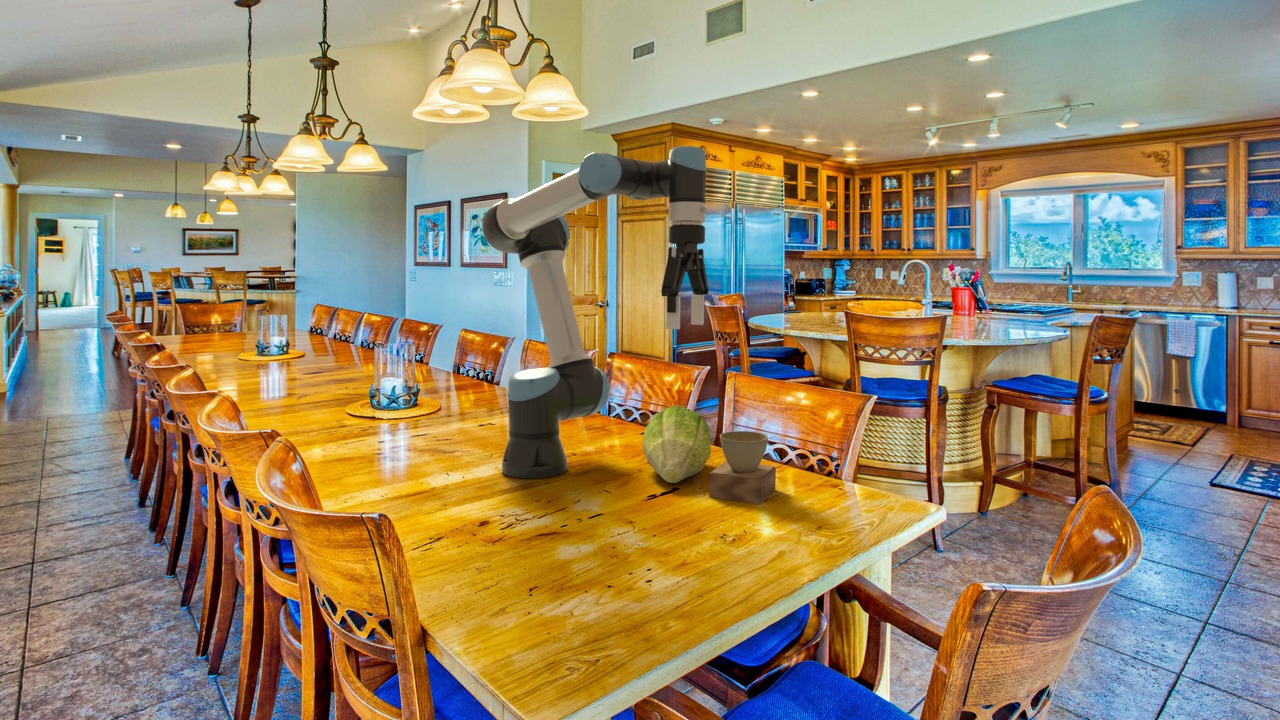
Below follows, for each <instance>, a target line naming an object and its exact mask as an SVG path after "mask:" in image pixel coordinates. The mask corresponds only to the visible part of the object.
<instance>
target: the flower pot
mask: <svg viewBox="0 0 1280 720" xmlns="http://www.w3.org/2000/svg"><path fill="white" fill-rule="evenodd" d="M719 441H720V445H721V448H722V453H723V455H724V457H725V461H727V462H728V464H729V466H730V467H731V469H732V470H734V471H737V472H752V471H755V470H756V469H757V467H758V465H759V464H761V462H762V460H763V458H764V456H765V453H766V450H767V446H768V442H769V435H767V434H766V433H762V432H758V431H751V430H749V431H748V430H747V431H746V430H736V431H735V430H733V431H725V432H722V433H720V434H719Z"/></svg>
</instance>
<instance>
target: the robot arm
mask: <svg viewBox="0 0 1280 720" xmlns="http://www.w3.org/2000/svg"><path fill="white" fill-rule="evenodd" d="M706 156H707V155H706V151H705V150H704V149H703V148H702V147H698V146H689V145H687V146H683V145H682V146H675V147H672V148H671V149H670V150H669V155H668V159H666V160H660V161H645V160H640V159H636V158H635V159H633V158H628V157H624V156H619V155H613V154H610V153H607V152H606V153H605V152H591V153H589V154H587V155H586V156H584V158H583V160H582V161H581V162H580V163H579V167H578V168H577V169H574V170H573V171H571V172H569V173H567V174H565V175H564V174H563V176H561V177H558V178H556V179H554V180H552V181H550V182H548V183H545V184H544V185H542V186H540V187H538V188H536V189H533V190H532V191H530V192H528V193H525V194H524V195H522V196H519V197H517V198H509V197H508V198H505V199H503V200H501V201H499V202H496V203H495V204H494V205H492V206H490V207H489V208H488V210H487V211H486V212H485V214H484V216H483V218H482V224H481V229H482V235H483V236H484V239H485V240H486V242H487V243H488V244H489V245H490V246H491V247H492V248H493V249H495V250H496V251H500V252H502V253H506V254H517V256H518V259H519V262H520V266H521V267H523V268H525V269H526V270H527V271H528V274H529V278H530V281H531V282H530V283H531V286H532V290H533V294H534V299H535V302H536V306H537V310H538V314H539V317H540V321H541V326H542V330H543V334H544V338H545V342H546V347H547V350H548V356H549V358H550V362H549V364H548V366H547V367H538V368H529V369H524V370H520V371H518V372H516V373H513V374H512V375H511V376H510V378H509V379H508V386H507V387H508V388H507V389H508V390H507V398H508V400H507V401H508V441H507V445H506V448H505V451H504V454H503V457H502V461H501V472H502V474H504V475H506V476H508V477H511V478H516V479H531V480H532V479H533V480H534V479H545V478H551V477H552V478H553V477H555V476H559V475H562V474H565V473H566V471H568V458H567V455H566V452H565V450H564V446H563V444H562V440H561V437H560V436H561V435H560V422H562V421H563V422H564V421H568V420H572V419H577V418H585V417H588V416H589V417H590V415H594V414H597V413H598V412H600V411H602V409H603V408H604V407H605V406H606V403H607V401H608V400H609V394H610V383H609V379H608V377H607V375H606V373H605V372H603V370H602V369H600V368H598V367H596V366H595V363H594V360H593V357H591V356H590V355H588V354H587V353H586V352H585V350H584V346H583V342H582V337H581V334H580V329H579V325H578V321H577V317H576V314H575V313H576V312H575V310H574V306H573V301H572V298H571V293H570V290H569V285H568V282H567V277H566V275H565V271H564V270H565V269H564V265H563V261H564V260H565V258H566V256H567V254H566V253H567V252H566V250H567V249H568V247H569V245H570V242H569V240H570V239H571V232H570V226H569V224H568V221H567V219H566V218H565V217H564V216H565V215H567V214H569V213H572V212H575V211H577V210H579V209H581V208H583V207H586V206H588V205H590V204H592V203H594V202H596V201H600V200H602V199H604V198H606V197H609V196H612V195H616V196H617V195H618V196H625V197H628V198H629V199H631V200H641V201H645V200H649V199H657V198H658V199H660V198H668V200H669V201H668V223H670V224H671V225H669V227H668V243H669V244H671V245H673V244H674V245H675V246H669V247H668V251H667V254H668V255H667V261H666V266H665V270H664V275H663V280H662V285H661V291H660V292H661V297H666V299H665V300H666V301H665V302H666V303H665V305H666V306H665V307H666V308H665V310H666V312H665V313H666V315H665V317H666V318H665V320H666V321H665V329H666V330H681V329H680V328H681V296H679V293H680V291H681V288H682V284H683V282H684V279H685V276H686V273H687V277H688V279H689V282H690V283H689V284H690V288H691V290H692V293H693V294H691V296H690V298H691V299H690V302H691V303H690V304H691V305H690V325H693V326H694V325H695V326H696V325H697V326H703V325H705V323H704V321H705V295H709V293H710V292H709V290H710V289H709V283H708V279H707V271H706V266H705V260H704V259H705V258H704V255H705V254H704V249H703V248H698V245H702V244H704V243H705V241H706V227H705V226H704V225H703V224H704V223H705V222H706V212H707V211H708V208H707V207H706V184H707V171H708V169H707V162H706V160H707V159H706V158H707V157H706Z"/></svg>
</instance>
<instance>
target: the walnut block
mask: <svg viewBox="0 0 1280 720" xmlns="http://www.w3.org/2000/svg"><path fill="white" fill-rule="evenodd" d="M776 473H777V466H774V465H768V464H761V463H760V464H759V465H758V467H757V469H756V470H755V471H752V472H737V471H734V470H732V469H731V467H730V466H729V464H728V462H727V460H725V462H723V463H722V464H720V465H719V466H717V467H716V468H715V469H713V470H712V471H710V472H709V478H708V479H709V485H708V488H709V489H708V497H709V498H714V499H720V500H726V501H727V500H728V501H732V502H742V503H746V504H754V505H763V503H764V502H765V501H766V500H767V499H768V498H769V497H770V496H771V494H773V493H774V492H775V491H776V483H777V482H776V478H777V477H776V476H777V474H776Z"/></svg>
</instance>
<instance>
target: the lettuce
mask: <svg viewBox="0 0 1280 720" xmlns="http://www.w3.org/2000/svg"><path fill="white" fill-rule="evenodd" d="M642 438H643V439H642V440H643V441H642V449H643V453H644V456H645V458H646V461H647V463H648V464H649V466H650V467H651V468H652V469H653V470H654V471H655V473H657V475H659V476H660V477H661V478H662V479H663V480H664V481H665V482H668V483H669V484H673V483H675V484H677V483H679V482H681V481H683V480H684V479H687V478H690V477H692V476H694V475H696V474H698V473H699V472H700V471H701V470H702V469H704V467H705V465H706V463H707V462H708V459H709V457H710V455H711V453H712V446H711V431H710V428H709V425H708V423H707V420H706V419H705V418H704V417H702V416H701V415H700V413H697V412H696V411H693V410H691V409H689V408H687V407H684V406H681V405H673V406H670V407H669V406H668V407H666V408H664V409H662V410H660V411H659V412H657V413H655V414H654V415H653V416H652V418H651V419H650V421H649V422H648V424H647V425H646V427H645V429H644V432H643V437H642Z"/></svg>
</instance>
